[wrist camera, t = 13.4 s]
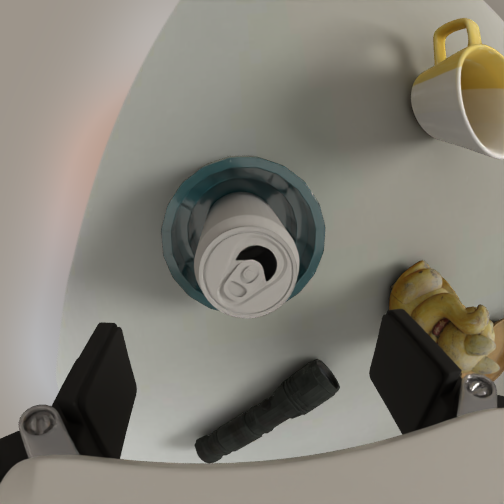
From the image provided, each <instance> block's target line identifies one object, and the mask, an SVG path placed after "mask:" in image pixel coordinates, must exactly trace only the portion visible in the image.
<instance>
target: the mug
mask: <svg viewBox="0 0 504 504" xmlns="http://www.w3.org/2000/svg"><path fill="white" fill-rule="evenodd" d="M465 28H467V33H468V47H466V48H464V49H462V50H460V51H458V52H457V53H455V54H453V55H452V56H450V57H448V58H446V52H445V39H446V37H447V36H448V35H449V34H451V33H453V32H455V31H457V30H461V29H465ZM433 42H434V59H435V66H433V67H431V68H430V69H428V70H426V71H424V72H423V73H421V74H420V75H419V76H418V77H417V78H416V80H415V82H414V84H413V87H412V91H411V104H412V109H413V112H414V114H415V117H416V119H417V121H418V122H419V124H420V126H421V127H422V128H423V129H424V130H425V132H427V133H428V134H429V135H430V136H432V137H433V138H435V139H438V140H441V141H445V142H448V143H451V144H455V145H458V146H461V147H464V148H467V149H470V150H472V151H475V152H478V153H481V154H484V155H487V156H490V157H493V158H496V159H504V57H503V56H502V55H501V54H500V53H499V52H498V51H497V50H495V49H494V48H492V47H490V46H487V45H483V44H482V43H481V37H480V31H479V27H478V25H477V24H476V23H475V22H473V21H472V20H470V19H467V18H461V19H457V20H453V21H451V22H448V23H446V24H444V25H443V26H441V27H440V28H438V29H437V30H436V31H435V33H434V37H433Z"/></svg>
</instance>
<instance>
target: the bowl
mask: <svg viewBox="0 0 504 504" xmlns="http://www.w3.org/2000/svg"><path fill="white" fill-rule="evenodd" d="M235 192H248V193H252V194H255V195H257V196H259V197H260V198H262V199H263V200H265V201H266V202H267V203H268V205H269V206H270V207H271V209H272V210H273V211H274V213H275V214H276V216H277V217H278V219H279V220H280V221H281V223H282V224H283V226H284V227H285V229H286V230H287V232H288V233H289V234H290V236H291V237H292V239H293V241H294V243H295V245H296V248H297V251H298V254H299V272H298V276H297V281H296V284H295V287H294V290H293V292H292V293H291V295H290V297H289V298H288V299H287V300H286V301H288V300H289V299H291V298H292V297H294V296H295V295H297V294H298V293H299V292H300V291H301V290H302V289H303V288H304V287H305V285H306V284H307V283H308V282H309V280H310V279H311V278H312V277H313V275H314V274H315V272H316V269H317V267H318V264H319V262H320V259H321V257H322V254H323V251H324V240H325V224H324V220H323V216H322V212H321V209H320V205H319V203H318V201H317V199H316V198H315V196H314V195H313V193H312V192H311V190H310V189H309V187H308V186H307V184H306V183H305V182H304V181H303V180H302V179H301V178H299V177H298V176H297V175H295V174H294V173H293V172H291V171H290V170H289V169H287V168H286V167H285V166H283V165H280V164H277V163H274V162H271V161H268V160H265V159H262V158H259V157H255V156H230V157H229V156H228V157H225V158H222V159H219V160H216V161H214V162H211V163H208V164H206V165H205V166H203V167H202V168H201V169H199V170H198V171H197V172H196V173H194V174H193V175H192V176H190V177H189V178H188V179H187V180H185V181H184V182H183V183H182V184H181V185H180V187H179V188H178V190H177V191H176V193H175V195H174V196H173V198H172V199H171V201H170V202H169V204H168V206H167V209H166V213H165V217H164V221H163V225H162V229H161V235H162V247H163V255H164V258H165V261H166V263H167V265H168V267H169V270H170V272H171V274H172V277H173V278H174V280H175V281H176V282H177V283H178V284H179V285H180V286H181V287H182V289H183V290H184V291H185V292H186V293H187V294H188V295H189V296H190V297H192V298H193V299H195V300H197V301H198V302H200V303H202V304H203V305H205V306H207V307H208V308H210V309H214V310H218V309H217V308H215V307H214V306H213V305H212V304H211V303H210V302H209V301H208V300H207V298H206V297H205V295H204V293H203V292H202V290H201V289H200V287H199V285H198V283H197V280H196V276H195V271H194V259H195V254H196V250H197V247H198V243H199V240H200V237H201V234H202V230H203V227H204V224H205V221H206V217H207V214H208V212H209V210H210V209H211V207H212V206H213V205H214V203H215V202H216V201H218V200H219V199H220V198H222V197H223V196H225V195H228V194H231V193H235ZM218 311H219V310H218Z"/></svg>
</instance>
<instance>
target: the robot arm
mask: <svg viewBox="0 0 504 504" xmlns="http://www.w3.org/2000/svg"><path fill="white" fill-rule="evenodd" d="M461 371H462V370H461V369H460V368H459V367H458V366H457V365H456V364H455V362H454V361H453V360H452V359H451V358H450V357H449V356H448V355H447V354H446V353H445V352H444V351H443V349H442V348H441V347H440V346H439V345H438V344H437V343H436V342H435V341H434V340H433V339H432V338H431V337H430V336H429V335H428V334H427V333H426V332H425V330H424V329H423V328H422V327H421V326H420V325H419V324H418V323H417V322H416V321H415V320H414V319H413V318H412V317H411V316H410V315H409V314H408V313H407V312H406V311H405V310H404V309H394V310H388V311H387V313H386V314H385V315H383V317H382V321H381V326H380V331H379V335H378V339H377V343H376V348H375V352H374V356H373V359H372V363H371V367H370V373H369V374H370V378H371V380H372V382H373V384H374V386H375V387H376V389H377V391H378V392H379V394H380V396H381V398H382V399H383V401H384V403H385V405H386V406H387V408H388V410H389V412H390V413H391V415H392V417H393V419H394V420H395V422H396V424H397V426H398V427H399V429H400V431H401V433H402V435H400V436H396V437H393V438H389V439H385V440H382V441H378V442H374V443H370V444H366V445H361V446H357V447H352V448H347V449H342V450H337V451H332V452H327V453H321V454H315V455H308V456H301V457H294V458H286V459H277V460H267V461H255V462H239V463H207V464H196V463H164V462H147V461H134V460H124V459H120V456H121V452H122V448H123V443H124V439H125V435H126V431H127V427H128V423H129V419H130V416H131V412H132V408H133V404H134V401H135V397H136V393H137V387H136V382H135V379H134V375H133V372H132V368H131V364H130V360H129V357H128V353H127V349H126V345H125V341H124V336H123V332H122V329H121V328H120V327H117V325H116V324H115V323H99V324H98V325H97V327H96V329H95V331H94V332H93V334H92V336H91V337H90V339H89V341H88V343H87V344H86V346H85V348H84V349H83V351H82V353H81V355H80V357H79V358H78V359H77V360H76V361H75V363H74V365H73V367H72V369H71V370H70V372H69V374H68V376H67V378H66V380H65V381H64V383H63V385H62V387H61V389H60V391H59V393H58V395H57V397H56V399H55V401H54V403H53V405H52V406H48V405H36V406H33V407H31V408H29V409H27V410H26V411H25V412H24V413H23V414H22V416H21V417H20V420H19V430H20V431H17V432H15V433H13V434H10V435H8V436H5V437H3V438H1V439H0V504H504V396H500V395H497V389H496V385H495V384H494V382H493V381H492V380H491V379H490V378H488V377H486V376H485V375H482V374H476V373H472V374H468V375H466V376H465V377H464V378H463V379H462V378H461V377H460V374H461Z"/></svg>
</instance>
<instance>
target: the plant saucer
mask: <svg viewBox="0 0 504 504" xmlns="http://www.w3.org/2000/svg"><path fill="white" fill-rule="evenodd" d="M493 330H494V333H495V340H494V342H495V344H496V348H495V350H494V351H492V352H491V353H490V354H489V355H488V358H490V359H492V360H493V361H495V362H496V363H497V364H498V365H499V367H500V369H499V370H498V371H497V372H495V373H491V374H485V376H486V377H488V378H490V379H491V380H492V381H495V380H496V379H497V378H498V377H499V376H500V375H501V374H502V372H503V371H504V319H501V320H499V321H497V322H495V323H493ZM472 373H474V372H472V371H469V372H466V373H461V378H462V379H463V378H464V377H465V376H466V375H468V374H472Z"/></svg>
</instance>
